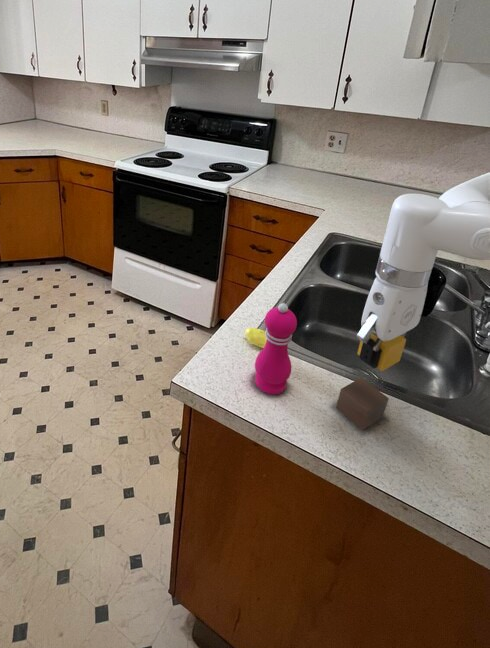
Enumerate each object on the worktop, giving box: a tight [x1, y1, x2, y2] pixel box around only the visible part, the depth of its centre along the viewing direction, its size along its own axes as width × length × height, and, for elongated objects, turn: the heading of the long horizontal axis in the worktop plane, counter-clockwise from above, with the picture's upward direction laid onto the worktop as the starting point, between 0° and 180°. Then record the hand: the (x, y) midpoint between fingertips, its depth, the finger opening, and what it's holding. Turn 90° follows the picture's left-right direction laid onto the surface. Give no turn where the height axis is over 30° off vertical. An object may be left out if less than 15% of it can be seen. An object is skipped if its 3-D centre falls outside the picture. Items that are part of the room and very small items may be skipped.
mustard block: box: [356, 327, 407, 372], centre depth 75 cm, size 5×5×5 cm
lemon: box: [244, 327, 267, 349], centre depth 98 cm, size 4×8×4 cm, turn 46°
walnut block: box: [335, 377, 390, 431], centre depth 81 cm, size 6×6×5 cm
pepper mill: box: [254, 302, 298, 395], centre depth 84 cm, size 7×7×20 cm
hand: (378, 356), depth 76 cm, fingers closed on mustard block, 5 cm apart
